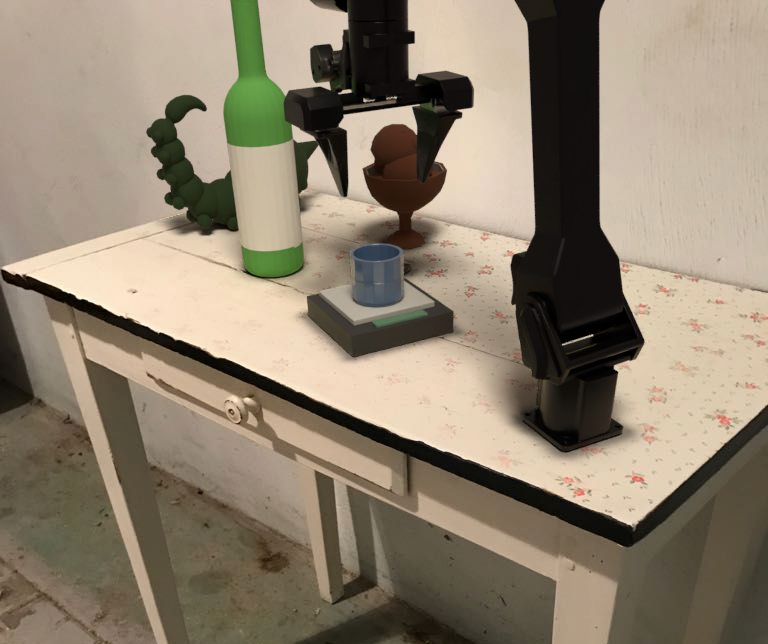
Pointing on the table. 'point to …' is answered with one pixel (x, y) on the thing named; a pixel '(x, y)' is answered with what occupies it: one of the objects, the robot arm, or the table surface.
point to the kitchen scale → (379, 319)
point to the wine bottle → (261, 156)
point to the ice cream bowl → (401, 181)
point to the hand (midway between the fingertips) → (383, 189)
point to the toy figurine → (187, 186)
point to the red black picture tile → (406, 266)
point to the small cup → (377, 274)
